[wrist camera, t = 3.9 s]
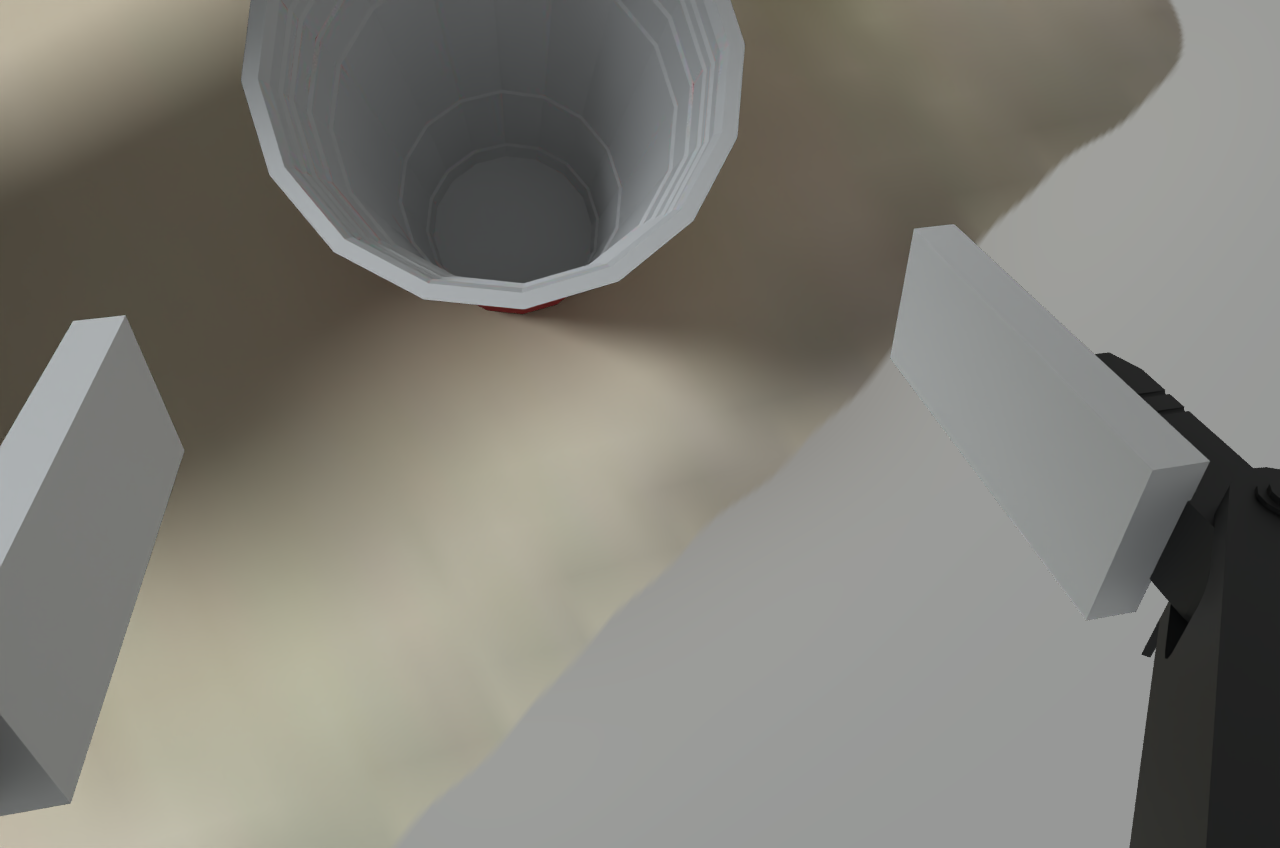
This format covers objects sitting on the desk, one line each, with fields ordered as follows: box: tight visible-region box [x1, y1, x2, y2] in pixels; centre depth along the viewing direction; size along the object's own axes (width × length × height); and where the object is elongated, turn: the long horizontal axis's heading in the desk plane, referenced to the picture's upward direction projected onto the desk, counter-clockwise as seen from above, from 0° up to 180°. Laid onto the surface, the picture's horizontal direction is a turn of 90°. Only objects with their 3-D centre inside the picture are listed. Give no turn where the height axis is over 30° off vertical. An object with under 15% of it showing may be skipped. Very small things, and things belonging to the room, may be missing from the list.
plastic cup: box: [241, 0, 745, 314], centre depth 25 cm, size 11×11×12 cm
